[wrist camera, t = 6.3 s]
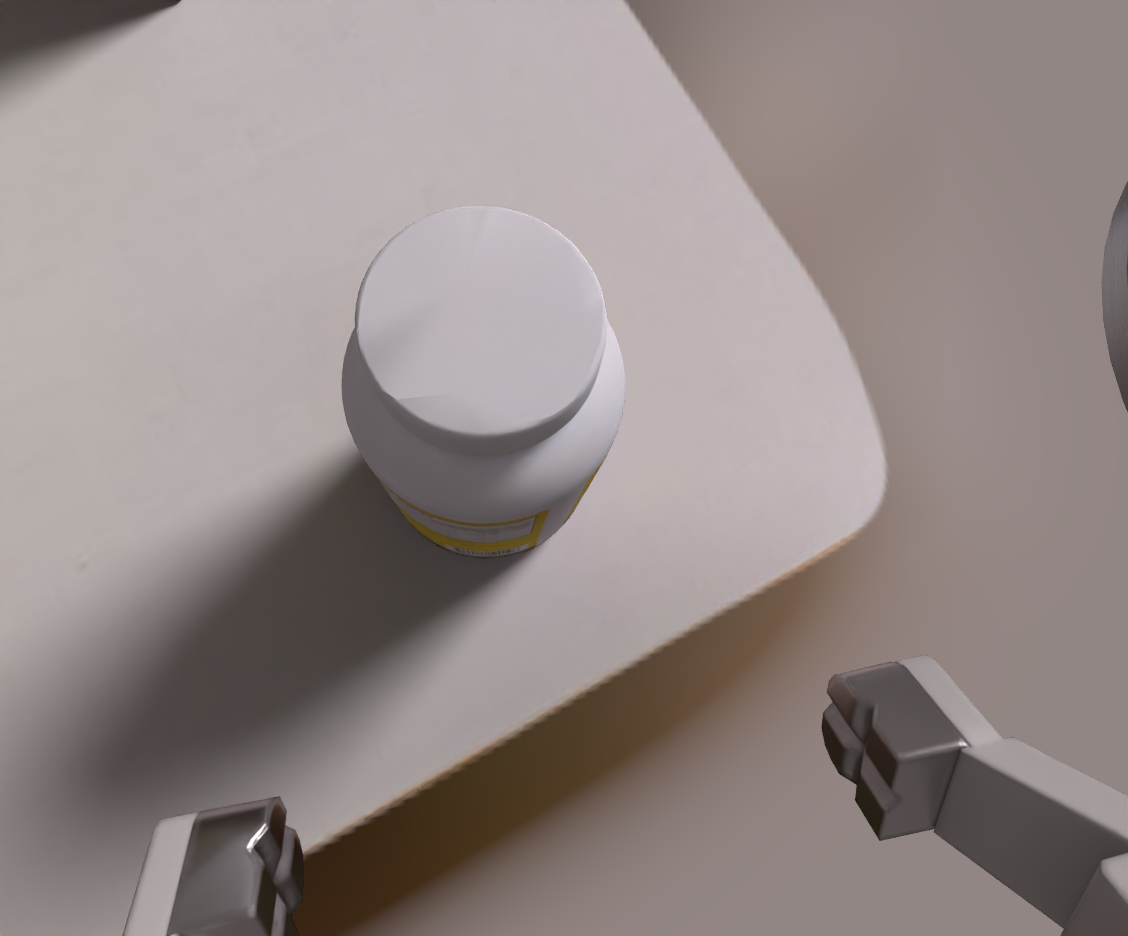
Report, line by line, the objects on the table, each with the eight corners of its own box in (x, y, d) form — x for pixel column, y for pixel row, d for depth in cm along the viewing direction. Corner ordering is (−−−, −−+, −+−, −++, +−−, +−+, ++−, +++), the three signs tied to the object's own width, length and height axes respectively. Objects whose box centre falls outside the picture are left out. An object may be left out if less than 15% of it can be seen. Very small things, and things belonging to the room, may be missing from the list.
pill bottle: (551, 353, 26) (595, 128, 15) (610, 529, 25) (708, 427, 14) (367, 403, 25) (265, 202, 14) (419, 588, 24) (354, 533, 13)
